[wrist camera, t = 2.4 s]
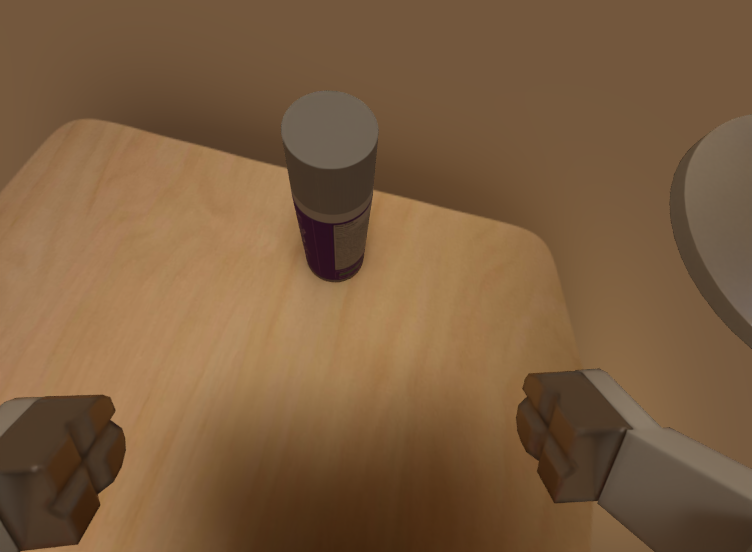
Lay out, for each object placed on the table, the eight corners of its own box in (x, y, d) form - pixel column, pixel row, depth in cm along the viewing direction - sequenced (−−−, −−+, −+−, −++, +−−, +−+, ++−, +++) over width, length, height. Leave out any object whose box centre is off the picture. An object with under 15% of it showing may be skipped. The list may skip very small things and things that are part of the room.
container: (295, 250, 31) (257, 116, 17) (341, 220, 33) (340, 73, 19) (329, 293, 30) (318, 189, 16) (375, 260, 32) (402, 138, 18)
